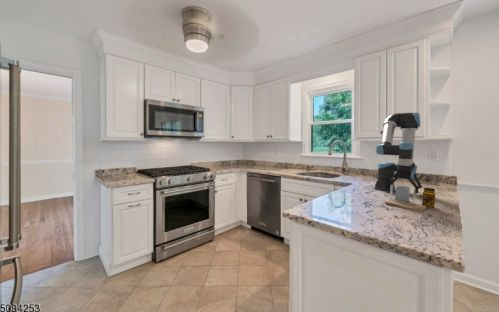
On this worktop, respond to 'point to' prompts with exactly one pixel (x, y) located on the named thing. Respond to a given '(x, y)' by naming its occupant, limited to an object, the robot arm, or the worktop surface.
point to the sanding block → (402, 193)
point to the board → (406, 205)
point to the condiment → (428, 198)
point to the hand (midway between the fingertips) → (402, 196)
